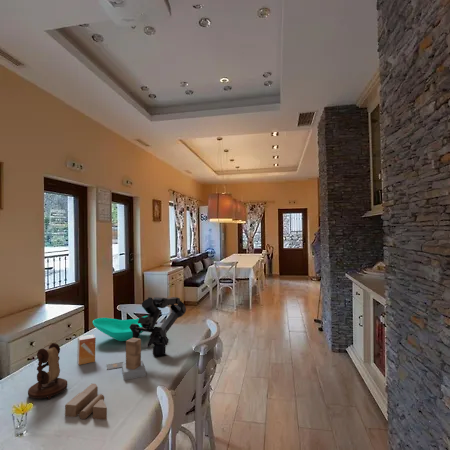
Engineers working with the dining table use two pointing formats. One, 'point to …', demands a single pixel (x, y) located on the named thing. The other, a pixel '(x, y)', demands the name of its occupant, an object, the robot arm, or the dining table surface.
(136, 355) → the walnut column
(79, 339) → the small box
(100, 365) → the dining table surface
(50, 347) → the scroll
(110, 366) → the card
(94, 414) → the wooden block set
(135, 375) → the slate block
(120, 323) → the table top decor
